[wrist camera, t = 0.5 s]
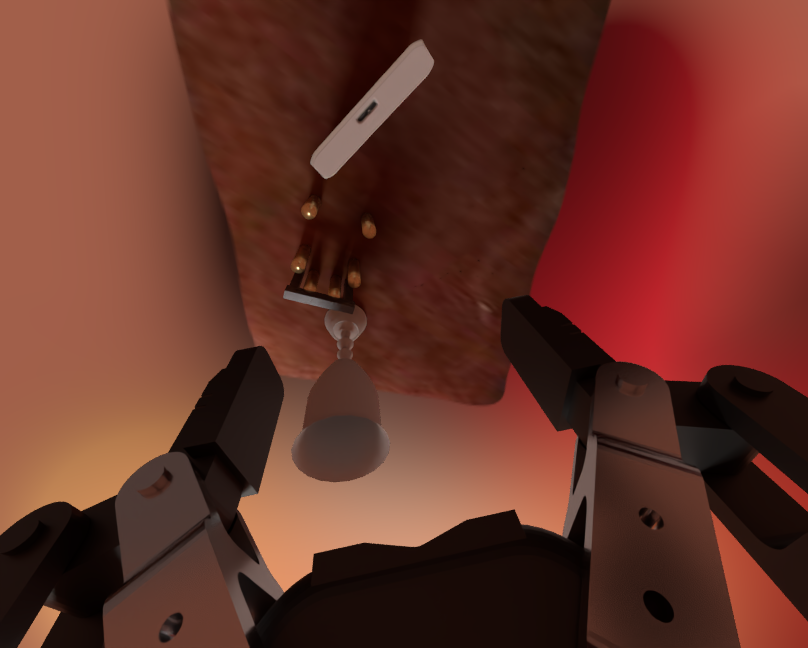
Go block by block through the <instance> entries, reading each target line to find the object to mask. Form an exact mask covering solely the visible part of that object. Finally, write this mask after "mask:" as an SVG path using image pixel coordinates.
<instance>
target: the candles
mask: <svg viewBox="0 0 808 648" xmlns="http://www.w3.org/2000/svg"><path fill="white" fill-rule="evenodd" d="M320 206H321V199H320V197H319V196H317V195H311V196H310V197H309V199H308V200H307V201H306V203H305V204H304V205H303V207H302V209H301V213H302V215H303V216H304V217H305V218H306V219H313V218H314V217H315V216H316V214H317V212H318V210H319V208H320ZM361 223H362V231H363V235H364V236H365V237H366V238H373V237H374V236H375V235H376V228H375V224H374V221H373V217H372V215H371V214H370V213H364V214H363V215H362V216H361ZM310 253H311V248H310V247H309V246H308V245H306V244H302V245H301V246H300V247H299V249H298V251H297V253H296V255H295V257H294V259H293V261H292V264H291V269H292V270H293V271H294V272H295V274H294V276H293V278H292V281H291V283H290V285H287V287H286V289H285V292H284V297H283V298H285V299H289V300H293V301H297V302H302V303H306V304H310V305H314V306H319V307H323V308H327V309H331V310H336V311H340V312H344V313H349V314H353V312H354V309H355V302H354V301H353V288H357V287H359V286H360V283H361V280H360V265H359V261H358V260H357V259H351V260H350V261H349V262H348V280H345V283H344V293H343V299H342V298H340V293H341V278H340V276H338V275H333V276H332V277H331V279H330V285H329V292H328V295H326V294H322V293H318V292H316V289H317V285H318V280H319V276H320V273H319V271H318V270H316V269H311V270H310V271H309V272H308V275H307V279H306V282H305V285H304V288H303V289H302V288H300V285H301V282H302V279H303V276H304V272H305V267H306V264H307V261H308V258H309V256H310Z"/></svg>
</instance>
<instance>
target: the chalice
mask: <svg viewBox="0 0 808 648" xmlns="http://www.w3.org/2000/svg"><path fill="white" fill-rule="evenodd" d="M366 325H367V318H366V315H365V313H364V311H363V310H362V309H361V308H360V307H358V306H357V305H355V309H354V312H353V314H349V313H344V312H340V311H336V310H331V309H329V310H328V312H327V313H326V316H325V326H326V328H327V330H328V331H329V333H330V334H331V335H332V336H333V338H334V339H336V340H338V342H337V346H338V348H339V349H340V350H339V351H338V353H337V357H338V360H336V361H335V362H334V363H332V364H331V365H330V366H329V367H328V368H327V369H326V370H325V371H324V372H323V373H322V375H321V376H320V377H319V378H318V380H317V381H316V383H315V384H314V386H313V387H312V389H311V391H310V393H309V396H308V400H307V406H306V412H305V418H304V424H303V430H302V432H301V433H300V434H299V435H298V436H297V437H296V439H295V441H294V444H293V447H292V459H293V461H294V463H295V464H296V466H297V467H298V469H299V470H300V471H302V472H303V473H305V474H306V475H307V476H310V477H312V478H315V479H318V480H321V481H329V482H340V481H350V480H353V479H357V478H360V477H363V476H365V475H366V474H369V473H371V472H372V471H374V470H375V469H377V468H378V467H379V466H380V465H381V464H382V463H383V462H384V460H385V458H386V457H387V455H388V453H389V447H390V441H389V438H388V435H387V433H386V431H385V430H384V429H383V428H382V426H381V419H380V409H379V400H378V394H377V390H376V387H375V386H374V384H373V383H372V381H371V379H370V378H369V376H368V375H367V374H366V372H365V371H364V370H363V369H362V368H361V367H360V366H359V365H358V364H357V363H356V362H355V361H353V360H352V359H351V358H352V356H353V353H352V351H351V350H350V349H352V347H353V341H354V340H355V339H357V338H358V337H359V336H360V334H361V333H362V332H363V331H364V329H365V327H366Z"/></svg>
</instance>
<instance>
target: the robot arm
mask: <svg viewBox="0 0 808 648" xmlns="http://www.w3.org/2000/svg"><path fill="white" fill-rule="evenodd" d="M501 344H502V347H503V350H504V352H505V354H506V356H507V357H508V359H509V360H510V362H511V363H512V365H513V366H514V368H515V369H516V371H517V372H518V374H519V375H520V377H521V378H522V380H523V381H524V383H525V384H526V386H527V387H528V388H529V390H530V392H531V393H532V394H533V396H534V398H535V399H536V400H537V402H538V403H539V405H540V407H541V408H542V409H543V411H544V413H545V414H546V415H547V417H548V418H549V420H550V421H551V423H552V424H553V426H554V427H555V429H556V430H557V431H562V430H567V429H573V430H574V432H575V433H576V434H577V439H576V443H575V452H574V461H573V470H572V478H571V488H570V497H569V503H568V510H567V514H566V519H565V524H564V529H563V536H561V535H558V534H556V533H554V532H551V531H548V530H545V529H543V528H539V527H534V526H530V525H521V524H520V521H519V519H518V516H517V514H516V512H515V510H510V511H506V512H501V513H496V514H492V515H487V516H483V517H478V518H474V519H469V520H466V521H464V522H463V523H460V524H459V525H457V526H455V527H453V528H452V529H450V530H448V531H446V532H444V533H443V534H441V535H439V536H437V537H436V538H434V539H432V540H430V541H429V542H427V543H425V544H423V545H421V546H418V547H405V546H395V545H383V544H372V543H361V544H356V545H352V546H347V547H343V548H338V549H334V550H329V551H325V552H320V553H316V554H314V557H313V567H312V572H311V573H309V574H307V575H306V576H304V577H303V578H302V579H300V580H299V581H297V582H296V583H295V584H294V585H292V586H291V587H290V588H289V589H288V590H287V591H286V592H285V593H284V592H283V590H282V588H281V587H280V585H279V584H278V583H277V581H276V580H275V579H274V577H273V576H272V574H271V573H270V571H269V569H268V568H267V566H266V564H265V562H264V560H263V558H262V556H261V554H260V552H259V550H258V548H257V546H256V544H255V541H254V539H253V537H252V536H251V534H250V532H249V529H248V527H247V525H246V523H245V521H244V519H243V517H242V515H241V513H240V512H239V511H238V510H237V507H238V504H239V501H240V498H241V497H245V496H249V495H254V494H258V491H259V488H260V484H261V480H262V477H263V473H264V469H265V465H266V462H267V458H268V454H269V450H270V446H271V442H272V439H273V435H274V431H275V428H276V424H277V420H278V416H279V413H280V409H281V405H282V401H283V397H284V388H283V383H282V380H281V378H280V376H279V374H278V372H277V370H276V368H275V366H274V364H273V362H272V360H271V358H270V356H269V354H268V352H267V351H266V349H265V348H264V347H263V346H257V347H253V348H247V349H242V350H237V351H236V352H235V353H234V355H233V356H232V358H231V360H230V362H229V364H228V366H227V367H226V368H225V369H222V370H221V371H220V372H219V373H218V374H217V375H216V376H215V377H214V378H213V379H212V380H211V381H209V383H208V385H207V387H206V388H205V390H204V391H203V393H202V395H201V396H202V398H200V399H199V400H198V402H197V404H196V405H195V409H194V410H192V412H191V414H190V416H189V417H188V419H187V421H186V423H185V424H184V426H183V428H182V430H181V431H180V433H179V435H178V436H177V438H176V440H175V442H174V443H173V445H172V447H171V449H170V450H169V452H168V453H166V454H163V455H160V456H159V457H156V458H154V459H152V460H151V461H149V462H147V463H146V464H144V465H143V466H142V467H140V468H139V469H138V470H137V471H136V472H135V473H134V474H132V475H131V476H130V478H129V479H128V480H127V481H126V482H125V483H124V485H123V486H122V488H121V489H120V491H119V493H118V495H116V496H113V497H111V498H109V499H107V500H105V501H103V502H100V503H98V504H96V505H94V506H92V507H90V508H88V509H85V510H83V511H80V510H78V509H77V508H75V507H73V506H72V505H70V504H69V503H67V502H55V503H51V504H48V505H45V506H43V507H41V508H39V509H37V510H35V511H33V512H31V513H30V514H28V515H26V516H25V517H23V518H22V519H20V520H19V521H17V522H16V523H15V524H14V525H12V526H11V527H10V528H8V529H7V530H6V531H5V532H4V533H3V534H2V535H0V648H17V647H18V645H19V644H20V642H21V641H22V639H23V637H24V636H25V634H26V632H27V631H28V629H29V628H30V626H31V624H32V623H33V621H34V619H35V618H36V616H37V615H38V613H39V611H40V610H41V608H42V606H43V605H44V606H47V607H50V608H53V609H56V610H58V611H61V613H60V614H59V616H58V618H57V620H56V621H55V623H54V625H53V627H52V628H51V630H50V632H49V634H48V636H47V637H46V639H45V641H44V643H43V645H42V646H41V648H741V647H740V643H739V638H738V634H737V629H736V625H735V620H734V615H733V611H732V606H731V602H730V597H729V593H728V588H727V584H726V579H725V575H724V570H723V566H722V561H721V557H720V552H719V548H718V543H717V539H716V535H715V530H714V525H713V521H712V516H711V512H710V510H711V511H712V512H713V513H714V514H715V515H716V516H717V518H718V519H719V520H720V521H721V522H722V523H723V524H724V525H725V527H726V528H727V529H728V530H729V531H730V533H731V534H732V535H733V536H734V537H735V538H736V539H737V540H738V542H739V543H740V544H741V545H742V546H743V547H744V549H745V550H746V551H747V552H748V553H749V554H750V556H751V557H752V558H753V559H754V560H755V561H756V562H757V564H758V565H759V566H760V567H761V568H762V569H763V570H764V571H765V573H766V574H767V575H768V576H769V577H770V578H771V580H772V581H773V582H774V583H775V584H776V585H777V586H778V588H779V589H780V590H781V591H782V592H783V593H784V595H785V596H786V597H787V598H788V599H789V600H790V601H791V602H792V604H793V605H794V606H795V607H796V608H797V609H798V611H799V612H800V613H801V614H802V615H803V616H804V618H806V620H807V621H808V512H807V511H806V510H805V509H804V508H803V507H802V506H801V505H799V504H798V503H797V502H796V501H795V500H794V499H793V498H792V497H791V496H789V495H788V494H787V493H786V492H785V491H784V490H783V489H781V488H780V487H779V486H778V485H777V484H776V483H775V482H774V481H772V479H770V478H769V477H768V476H767V475H766V474H765V473H764V472H762V471H761V470H760V469H759V468H758V467H757V466H756V465H755V464H754V463H753V462H751V461H752V460H753V459H754V458H755V457H756V456H757V454H758V453H761V454H762V455H763V456H764V457H765V458H767V459H768V460H769V461H770V462H771V463H772V464H773V465H775V466H776V467H777V468H778V469H779V470H780V471H782V472H783V473H784V474H785V475H786V476H787V477H789V478H790V479H791V480H792V481H793V482H795V483H796V484H797V485H798V486H799V487H800V488H802V489H803V490H804V491H805V492H806V493H807V494H808V398H807V397H806V396H804V395H803V394H801V393H800V392H798V391H796V390H795V389H793V388H792V387H790V386H788V385H787V384H785V383H784V382H782V381H780V380H778V379H777V378H774V377H773V376H770V375H768V374H766V373H763V372H761V371H757V370H754V369H751V368H747V367H741V366H734V365H721V366H716V367H713V368H711V369H710V370H709V371H708V372H707V374H706V376H705V378H704V379H703V381H702V382H687V381H666V380H663V378H661V377H660V376H659V375H658V374H656V373H655V372H653V371H651V370H649V369H648V368H645V367H642V366H640V365H637V364H633V363H628V362H616V361H615V360H614V359H613V358H612V357H610V356H609V355H608V354H607V353H606V352H604V351H603V349H601V348H600V347H599V346H598V345H597V344H596V343H595V342H593V341H592V340H591V339H590V338H589V337H588V336H587V335H586V334H584V333H581V330H580V329H579V328H578V327H577V326H575V325H573V324H572V322H571V321H570V320H569V319H568V318H566V317H565V316H564V315H563V314H562V313H560V312H558V311H556V310H554V309H551V308H549V307H547V306H545V307H541V306H540V305H539V304H538V303H537V302H536V301H535V300H534V299H533V298H532V297H530V296H529V295H524V296H518V297H513V298H508V299H505V300H504V301H503V304H502V321H501Z"/></svg>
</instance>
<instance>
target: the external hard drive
mask: <svg viewBox="0 0 808 648" xmlns="http://www.w3.org/2000/svg"><path fill="white" fill-rule="evenodd" d="M433 65H434V60H433V58H432V57H431V55H430V53H429V51H428V50H427V48H426V46H425V45H424V42H423V40H422V39H421V40H418V41H416V42H414V43H412V44H411V45H409V47H408V48H407V49H406V50H405V51H404V52H403V53H402V55H401V56H400V57H399V58H398V59H397V60H396V61H395V62H394V63H393V64H392V65H391V67H390V68H389V69H388V70H387V71H386V72H385V73H384V74H383V76H382V77H381V78H380V79H379V80H378V81H377V82H376V83H375V84H374V86H373V87H372V88H371V89H370V90H369V91H368V92H367V93H366V95H365V96H364V97H363V98H362V99H361V100H360V101H359V102H358V104H357V105H356V106H355V107H354V108H353V109H352V110H351V111H350V112H349V113H348V115H347V116H346V117H345V118H344V119H343V120H342V121H341V123H340V124H339V125H338V126H337V127H336V128H335V129H334V130H333V131H332V132H331V134H330V135H329V136H328V137H327V138H326V139H325V140H324V142H323V143H322V144H321V145H320V146H319V147H318V148H317V149H316V151H315V152H314V153H313V155H312V158H311V161H310V164H311V165H312V166H313V167H314V168H315V169H316V170H317V171H318V172H319V173H320V174H321V175H322V176H323V178H325V179H327V178H329V177H331V176H333V175H334V174H335V173H336V172H337V171H338V170H339V169H340V168H341V167H342V166H343V165H344V164H345V163H346V162H347V160H348V159H349V158H350V157H351V156H352V155H353V154H354V153H355V152H356V151H357V150H358V149H359V148H360V147H361V146H362V144H363V143H364V142H365V141H366V140H367V139H368V138H369V137H370V136H371V135H372V134H373V133H374V132H375V131H376V129H377V128H378V127H379V126H380V125H381V124H382V123H383V122H384V121H385V120H386V119H387V118H388V117H389V116H390V115H391V113H392V112H393V111H394V110H395V109H396V108H397V107H398V106H399V105H400V104H401V103H402V102H403V101H404V100H405V99H406V98H407V97H408V96H409V94H410V93H411V92H412V91H413V90H414V89H415V88H416V87H417V86H418V85H419V84H420V83H421V82H422V81H423V80H424V79H425V78H426V76H427V75H428V74H429V72H430V71H431V69H432V67H433Z"/></svg>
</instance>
